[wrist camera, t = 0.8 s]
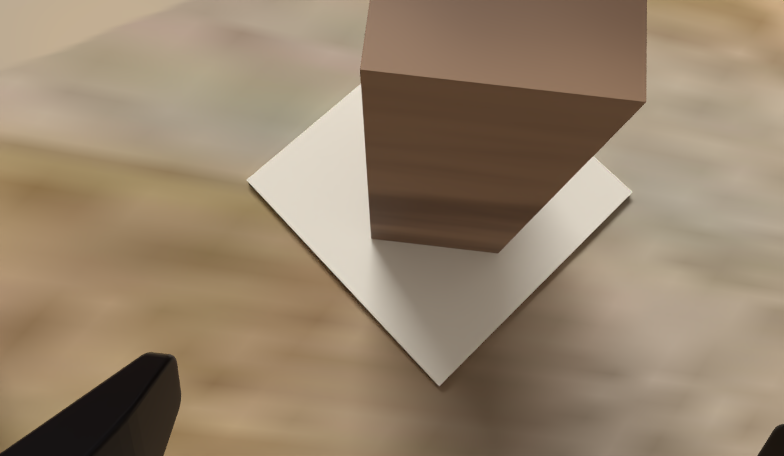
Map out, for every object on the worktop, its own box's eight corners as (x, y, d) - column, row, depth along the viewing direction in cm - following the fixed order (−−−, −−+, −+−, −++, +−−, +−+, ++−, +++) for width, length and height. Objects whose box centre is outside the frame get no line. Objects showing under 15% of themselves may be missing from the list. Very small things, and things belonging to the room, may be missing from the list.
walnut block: (497, 253, 23) (646, 102, 10) (371, 238, 23) (359, 69, 10) (506, 135, 24) (647, -132, 11) (385, 121, 24) (392, -160, 11)
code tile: (629, 194, 24) (632, 191, 23) (438, 386, 22) (439, 386, 21) (440, 20, 26) (441, 15, 25) (248, 182, 24) (246, 179, 23)
